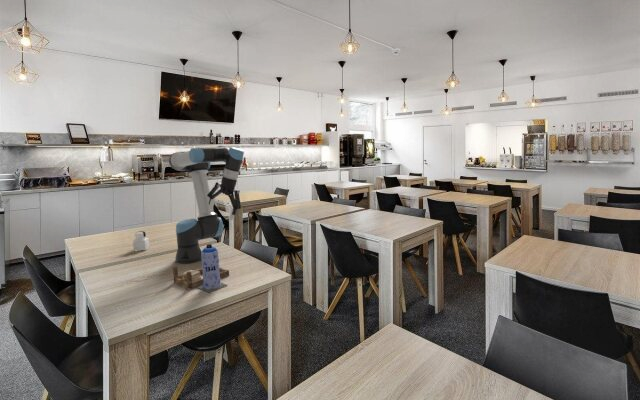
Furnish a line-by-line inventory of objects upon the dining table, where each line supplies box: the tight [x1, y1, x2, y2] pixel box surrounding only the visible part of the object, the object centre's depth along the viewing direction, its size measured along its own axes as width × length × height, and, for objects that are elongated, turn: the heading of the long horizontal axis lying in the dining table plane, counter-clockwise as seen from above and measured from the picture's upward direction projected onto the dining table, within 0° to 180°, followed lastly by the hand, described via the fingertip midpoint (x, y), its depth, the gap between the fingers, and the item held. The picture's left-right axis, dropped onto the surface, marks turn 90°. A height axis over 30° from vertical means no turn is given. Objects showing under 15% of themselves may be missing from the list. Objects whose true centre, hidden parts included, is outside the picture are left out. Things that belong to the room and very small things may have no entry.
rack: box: [172, 265, 230, 290], centre depth 172 cm, size 14×22×8 cm, turn 141°
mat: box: [196, 281, 228, 294], centre depth 162 cm, size 10×10×1 cm
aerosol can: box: [201, 243, 222, 289], centre depth 161 cm, size 8×8×20 cm
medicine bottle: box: [132, 230, 150, 252], centre depth 226 cm, size 7×7×12 cm
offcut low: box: [182, 276, 202, 282], centre depth 168 cm, size 7×6×3 cm
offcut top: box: [182, 269, 201, 280], centre depth 168 cm, size 6×5×2 cm
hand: (220, 215), depth 183 cm, fingers open, 13 cm apart
